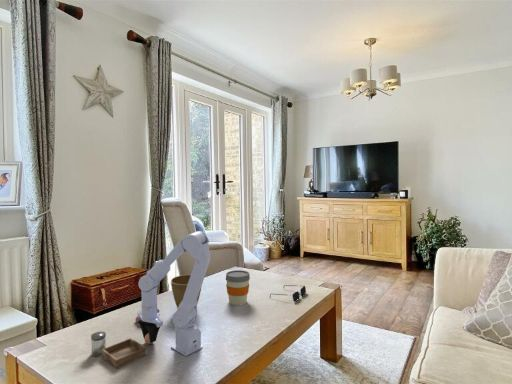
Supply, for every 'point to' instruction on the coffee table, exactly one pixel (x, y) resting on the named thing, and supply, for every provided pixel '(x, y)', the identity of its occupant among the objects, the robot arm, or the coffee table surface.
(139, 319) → the video game controller
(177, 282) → the plant pot
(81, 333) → the coffee table surface
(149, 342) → the ball
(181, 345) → the robot arm
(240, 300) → the reusable coffee cup
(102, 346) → the shaker
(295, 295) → the sunglasses
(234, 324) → the coffee table surface
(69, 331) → the coffee table surface
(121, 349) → the tray
